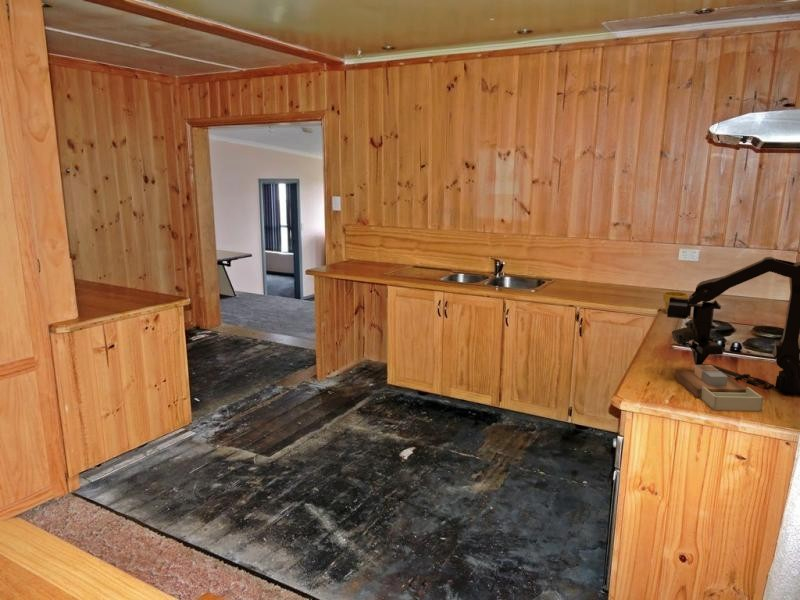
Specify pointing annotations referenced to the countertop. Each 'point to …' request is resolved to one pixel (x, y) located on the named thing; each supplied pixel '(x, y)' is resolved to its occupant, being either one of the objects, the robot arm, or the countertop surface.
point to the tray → (733, 400)
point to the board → (695, 384)
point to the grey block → (714, 378)
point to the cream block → (703, 369)
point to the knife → (740, 377)
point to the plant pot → (673, 294)
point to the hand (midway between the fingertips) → (697, 366)
